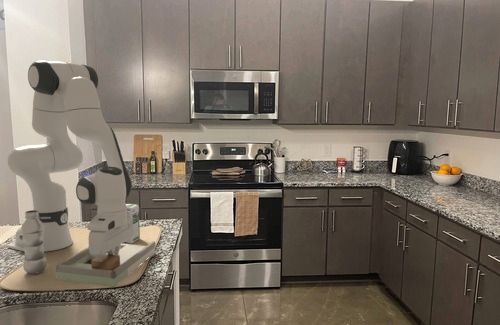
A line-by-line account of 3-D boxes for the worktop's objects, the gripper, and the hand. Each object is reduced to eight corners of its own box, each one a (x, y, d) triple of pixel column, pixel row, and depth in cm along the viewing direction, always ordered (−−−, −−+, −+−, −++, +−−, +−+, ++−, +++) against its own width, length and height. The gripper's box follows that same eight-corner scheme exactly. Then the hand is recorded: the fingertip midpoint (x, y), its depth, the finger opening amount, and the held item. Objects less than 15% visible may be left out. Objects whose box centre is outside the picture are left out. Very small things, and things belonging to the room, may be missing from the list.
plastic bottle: (31, 278, 116) (27, 215, 113) (19, 272, 119) (15, 212, 117) (51, 270, 121) (47, 211, 118) (39, 266, 125) (36, 207, 122)
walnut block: (91, 273, 114) (91, 260, 114) (103, 265, 120) (102, 253, 120) (109, 275, 113) (109, 262, 113) (120, 267, 119) (119, 255, 118)
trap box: (56, 279, 115) (55, 265, 115) (106, 248, 142) (106, 236, 141) (114, 286, 111) (114, 272, 111) (155, 253, 138) (155, 241, 137)
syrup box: (133, 243, 147) (132, 207, 145) (119, 242, 148) (118, 206, 146) (140, 238, 153) (139, 204, 151) (126, 237, 154) (125, 203, 152)
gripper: (120, 209, 130) (122, 247, 132) (83, 226, 110) (85, 271, 112) (137, 210, 129) (138, 248, 130) (103, 228, 109) (104, 273, 111)
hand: (114, 259), depth 121 cm, fingers closed
